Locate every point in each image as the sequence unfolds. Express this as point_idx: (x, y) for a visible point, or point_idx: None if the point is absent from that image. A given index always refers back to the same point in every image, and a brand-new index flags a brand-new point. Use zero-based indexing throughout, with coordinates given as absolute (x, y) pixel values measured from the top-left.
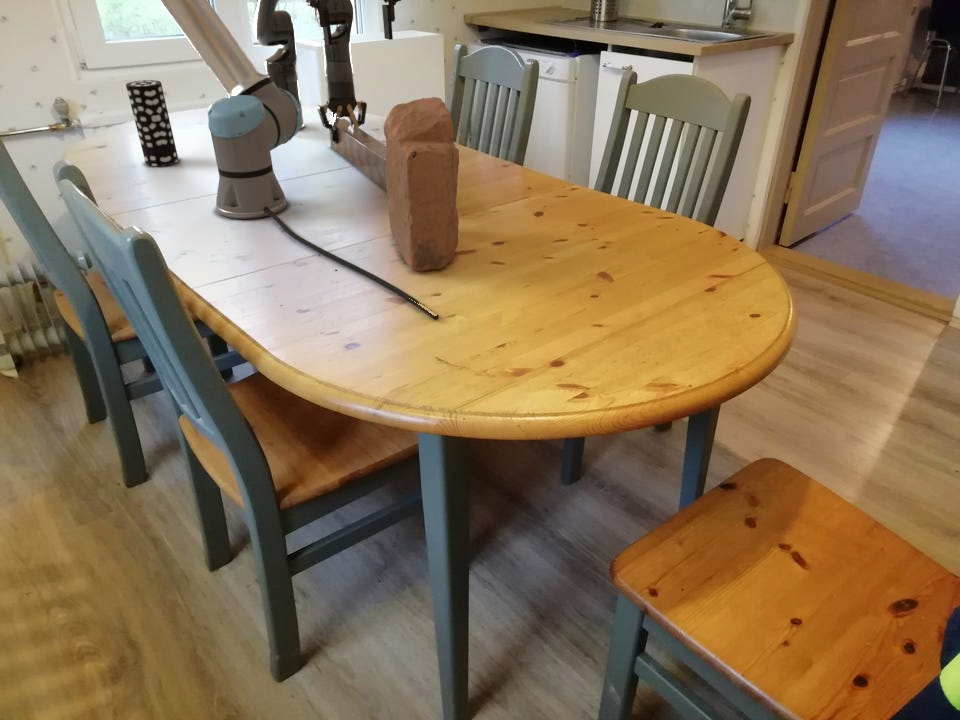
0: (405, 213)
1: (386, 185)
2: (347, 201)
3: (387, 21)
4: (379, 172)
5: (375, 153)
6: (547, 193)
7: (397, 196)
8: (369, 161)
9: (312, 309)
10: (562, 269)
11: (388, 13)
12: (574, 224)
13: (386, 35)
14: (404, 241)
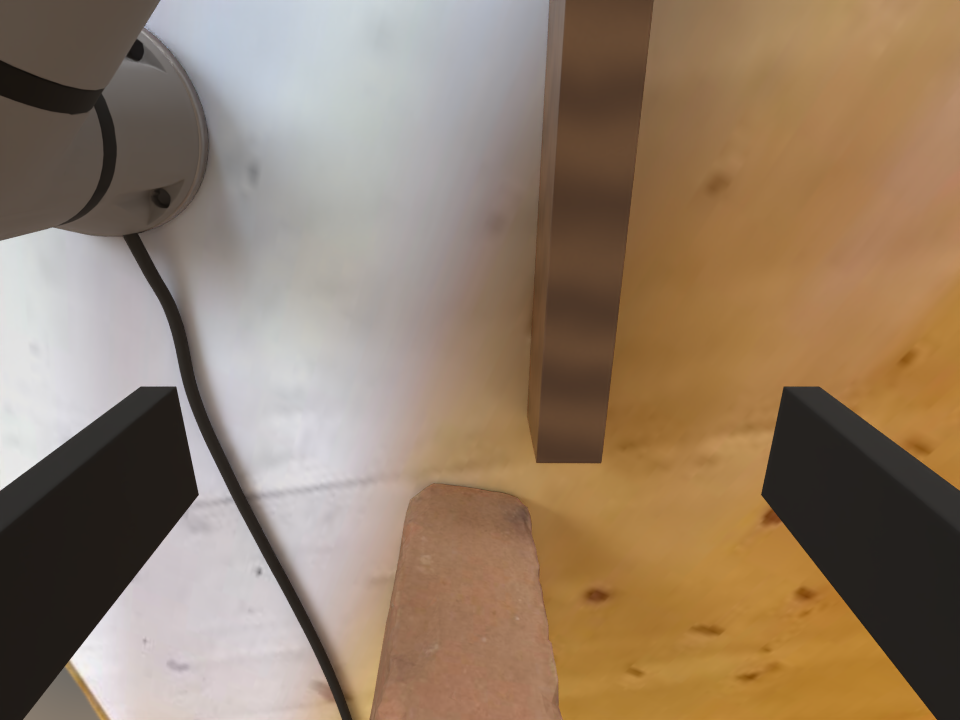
0: (371, 714)
1: (397, 568)
2: (394, 212)
3: (860, 593)
4: (549, 120)
5: (560, 84)
6: (910, 412)
7: (381, 667)
8: (557, 4)
9: (192, 667)
10: (623, 708)
11: (929, 696)
12: (795, 584)
13: (788, 451)
14: (386, 631)
